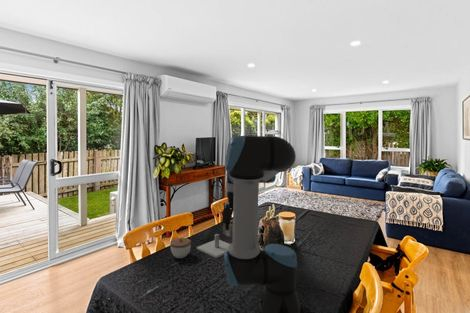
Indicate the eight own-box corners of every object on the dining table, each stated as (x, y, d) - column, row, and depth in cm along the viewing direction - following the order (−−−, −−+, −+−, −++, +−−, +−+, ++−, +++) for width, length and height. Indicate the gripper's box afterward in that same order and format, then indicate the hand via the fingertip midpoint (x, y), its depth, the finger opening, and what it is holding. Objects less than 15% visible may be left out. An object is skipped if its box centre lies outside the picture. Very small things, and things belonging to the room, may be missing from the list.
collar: (234, 238, 132) (234, 226, 132) (223, 234, 137) (223, 222, 137) (244, 234, 138) (244, 222, 137) (233, 230, 143) (233, 219, 143)
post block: (216, 258, 138) (216, 243, 137) (196, 249, 148) (196, 235, 148) (236, 248, 149) (237, 234, 149) (217, 240, 160) (217, 227, 160)
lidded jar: (166, 257, 138) (165, 240, 137) (179, 249, 148) (179, 233, 147) (182, 262, 133) (182, 244, 132) (194, 253, 143) (194, 237, 142)
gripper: (225, 195, 126) (225, 241, 128) (252, 188, 141) (252, 230, 143) (214, 192, 131) (214, 237, 133) (242, 186, 146) (241, 226, 148)
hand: (234, 233), depth 138 cm, fingers closed on collar, 8 cm apart
